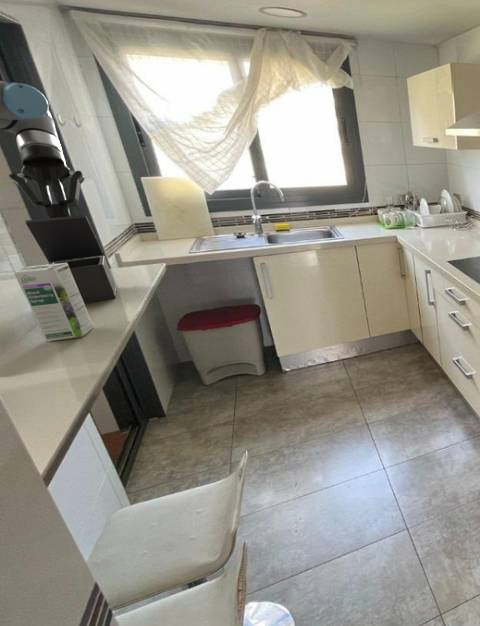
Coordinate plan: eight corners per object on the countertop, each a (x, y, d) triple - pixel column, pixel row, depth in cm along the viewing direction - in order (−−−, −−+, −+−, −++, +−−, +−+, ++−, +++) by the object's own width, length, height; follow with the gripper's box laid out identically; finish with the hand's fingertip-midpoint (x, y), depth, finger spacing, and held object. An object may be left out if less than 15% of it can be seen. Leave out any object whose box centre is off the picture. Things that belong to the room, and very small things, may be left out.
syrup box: (45, 343, 90) (11, 272, 85) (60, 332, 95) (29, 264, 90) (82, 337, 92) (52, 268, 87) (95, 327, 97) (67, 261, 92)
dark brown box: (115, 298, 115) (102, 264, 111) (59, 308, 108) (43, 272, 105) (116, 287, 123) (104, 255, 120) (63, 296, 117) (49, 263, 113)
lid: (86, 217, 111) (85, 214, 111) (25, 222, 104) (25, 220, 105) (103, 255, 119) (103, 252, 120) (48, 262, 113) (48, 259, 113)
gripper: (82, 163, 123) (103, 234, 118) (10, 166, 115) (30, 242, 110) (72, 142, 117) (94, 215, 112) (-4, 144, 110) (16, 222, 104)
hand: (62, 228), depth 111 cm, fingers closed
